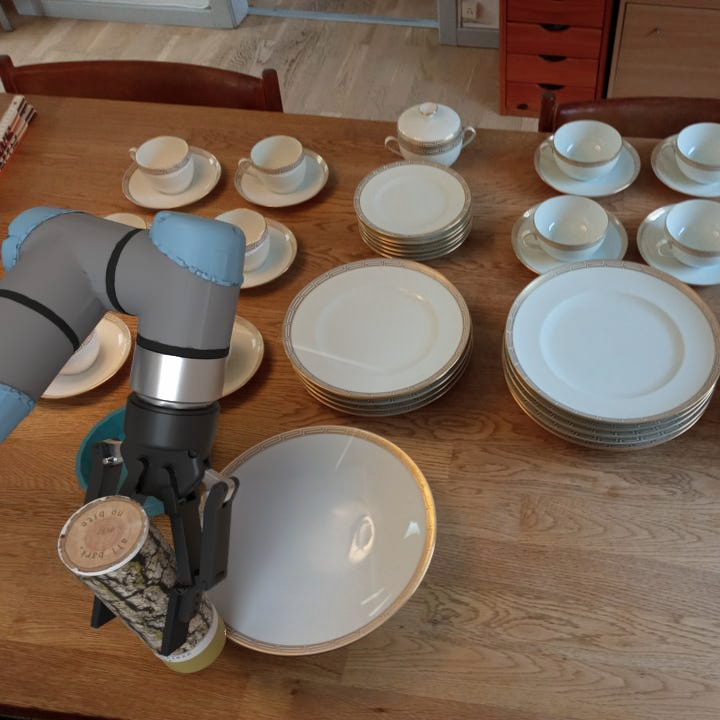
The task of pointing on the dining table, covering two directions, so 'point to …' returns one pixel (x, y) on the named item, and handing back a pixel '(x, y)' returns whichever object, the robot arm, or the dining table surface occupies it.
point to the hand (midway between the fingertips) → (138, 633)
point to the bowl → (111, 429)
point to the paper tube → (136, 577)
